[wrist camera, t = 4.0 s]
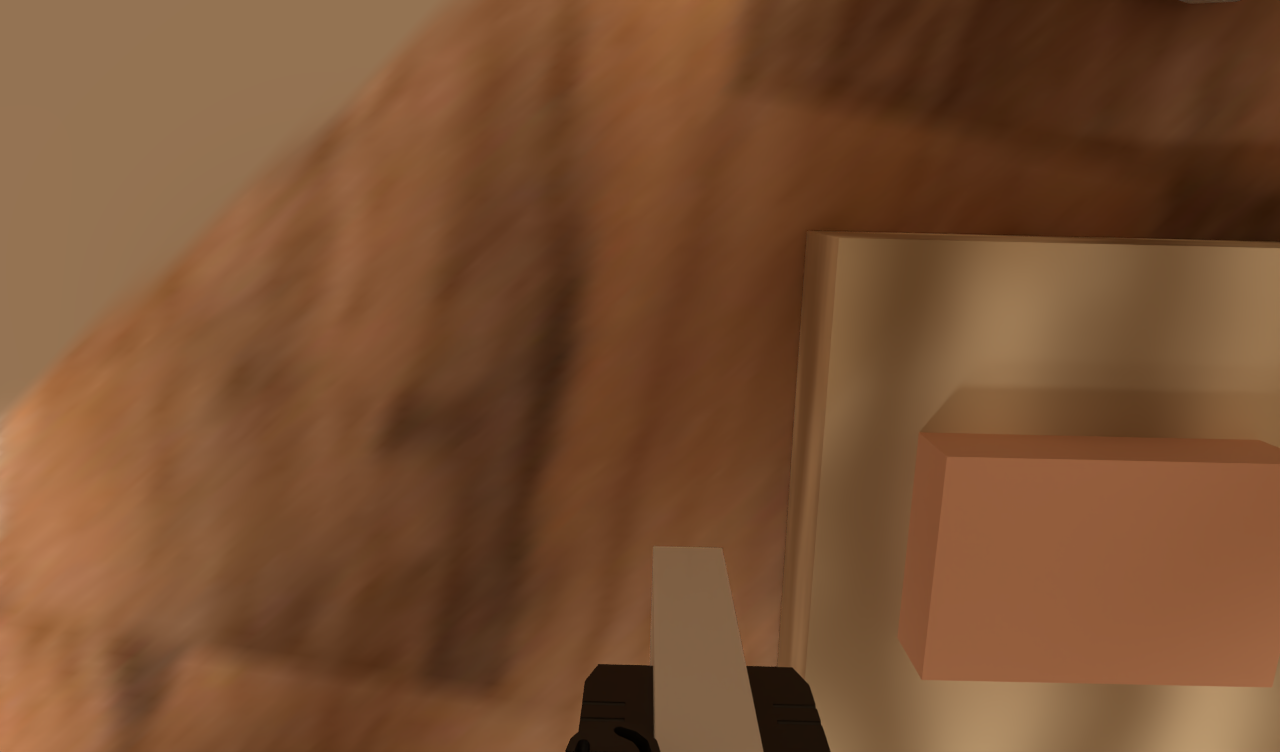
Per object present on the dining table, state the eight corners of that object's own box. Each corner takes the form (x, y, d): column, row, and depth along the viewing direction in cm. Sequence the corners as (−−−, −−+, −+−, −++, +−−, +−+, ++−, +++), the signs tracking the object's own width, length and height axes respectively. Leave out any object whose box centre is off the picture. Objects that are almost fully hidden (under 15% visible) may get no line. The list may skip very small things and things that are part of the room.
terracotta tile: (897, 638, 23) (921, 680, 21) (918, 432, 21) (947, 456, 19) (1217, 644, 23) (1272, 687, 21) (1259, 440, 21) (1321, 465, 19)
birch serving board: (774, 704, 28) (796, 789, 24) (806, 230, 24) (838, 237, 20) (1239, 714, 28) (1338, 800, 24) (1341, 243, 24) (1477, 252, 20)
